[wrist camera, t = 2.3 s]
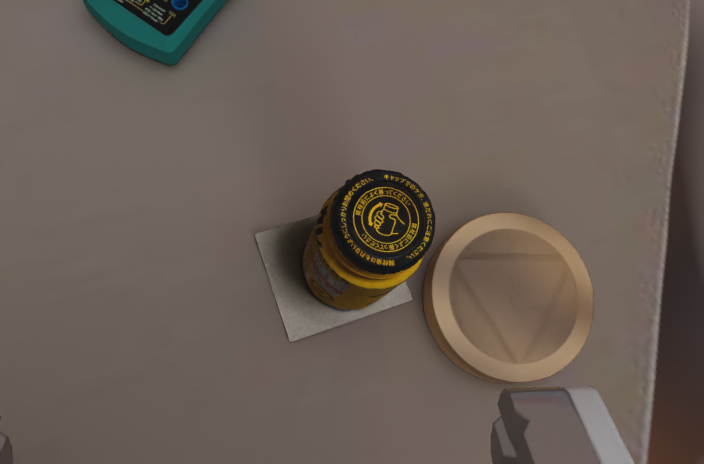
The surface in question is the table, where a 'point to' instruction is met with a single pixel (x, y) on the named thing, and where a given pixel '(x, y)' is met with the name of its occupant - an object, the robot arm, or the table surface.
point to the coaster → (508, 299)
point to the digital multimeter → (155, 24)
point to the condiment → (349, 253)
